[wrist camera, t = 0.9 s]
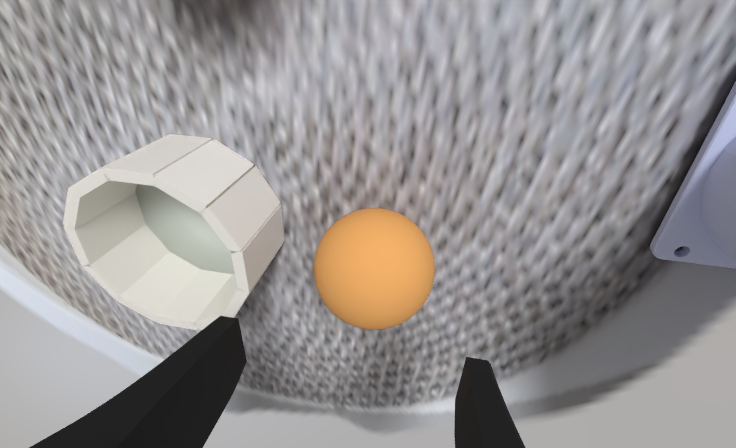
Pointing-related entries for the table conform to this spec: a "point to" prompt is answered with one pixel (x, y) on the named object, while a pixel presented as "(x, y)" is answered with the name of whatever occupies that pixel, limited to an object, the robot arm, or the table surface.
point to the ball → (374, 268)
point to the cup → (176, 229)
